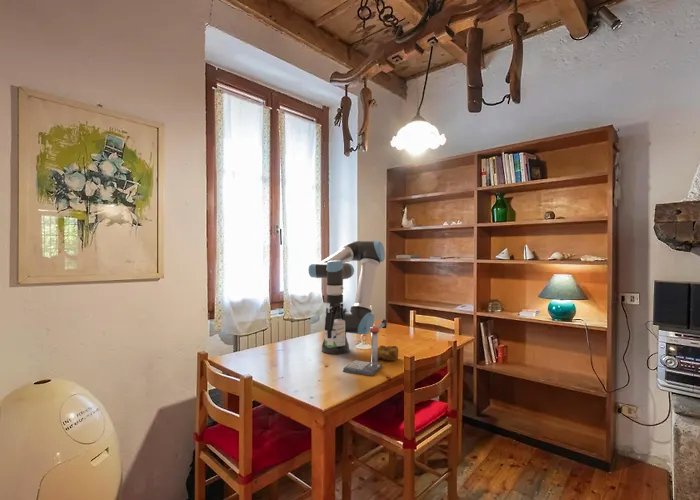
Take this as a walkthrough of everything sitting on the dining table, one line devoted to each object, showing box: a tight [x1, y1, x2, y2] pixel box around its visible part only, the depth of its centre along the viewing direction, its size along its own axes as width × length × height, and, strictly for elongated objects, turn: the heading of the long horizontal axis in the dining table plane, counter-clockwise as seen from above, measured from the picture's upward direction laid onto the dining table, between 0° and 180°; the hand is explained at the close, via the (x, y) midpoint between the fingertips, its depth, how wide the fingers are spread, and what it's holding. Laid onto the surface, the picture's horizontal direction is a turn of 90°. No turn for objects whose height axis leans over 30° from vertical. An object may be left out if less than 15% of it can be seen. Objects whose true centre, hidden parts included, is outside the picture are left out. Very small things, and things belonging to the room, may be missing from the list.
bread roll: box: [378, 345, 399, 362], centre depth 190 cm, size 13×10×8 cm
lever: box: [370, 318, 388, 334], centre depth 178 cm, size 4×18×4 cm, turn 157°
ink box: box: [324, 319, 345, 348], centre depth 173 cm, size 9×5×12 cm, turn 117°
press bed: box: [342, 332, 383, 377], centre depth 174 cm, size 15×14×18 cm
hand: (335, 341), depth 173 cm, fingers closed on ink box, 9 cm apart
